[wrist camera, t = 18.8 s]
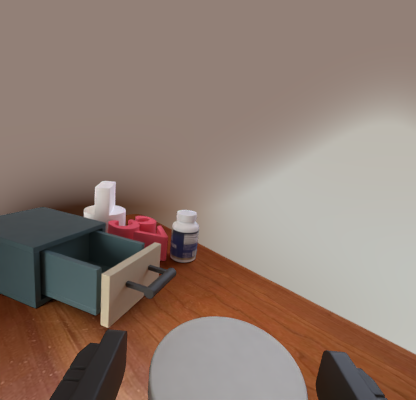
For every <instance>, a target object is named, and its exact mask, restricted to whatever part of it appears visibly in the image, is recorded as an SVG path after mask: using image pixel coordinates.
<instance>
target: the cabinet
mask: <svg viewBox="0 0 416 400" xmlns="http://www.w3.org/2000/svg"><path fill="white" fill-rule="evenodd" d="M96 230H98V231H102V232H106V223H105V222H101V221H97V220H93V219H89V218H85V217H81V216H77V215H73V214H69V213H65V212H61V211H57V210H53V209H49V208H45V207H40V208H36V209H31V210H26V211H21V212H16V213H11V214H6V215H1V216H0V293H1V294H3V295H5V296H8V297H10V298H12V299H15V300H17V301H19V302H22V303H24V304H26V305H29V306H31V307H33V308H38V307H39V306H41V305H43V304H44V303H46V302H48V301H50V300H51V299H53V298H50V297H48V296H45V295H43V294H41V285H40V257H39V251H42V250H45V249H47V248H50V247H53V246H55V245H58V244H61V243H64V242H66V241H69V240H72V239H74V238H77V237H80V236H82V235H85V234H88V233H91V232H93V231H96Z"/></svg>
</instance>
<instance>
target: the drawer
mask: <svg viewBox="0 0 416 400" xmlns="http://www.w3.org/2000/svg"><path fill="white" fill-rule="evenodd" d="M144 246H145V243H143V242H139V241H136V240H132V239H128V238H124V237H121V236H117V235H113V234H109V233H106V232H102V231H98V230H96V231H93V232H91V233H88V234H85V235H82V236H80V237H77V238H74V239H72V240H69V241H66V242H64V243H61V244H58V245H55V246H53V247H50V248H47V249H45V250H42V251H39V257H40V285H41V294H43V295H45V296H48V297H50V298H53V299H55V300H58V301H60V302H63V303H65V304H68V305H70V306H73V307H75V308H78V309H80V310H83V311H85V312H88V313H90V314H93V315H95V316H96V315H98V314H99V313H100V312H101V325H102V326H104V327H107V328H109V327H110V326H111V325H112V324H113V323H115V322H116V321H117V320H118V319H119V318H120V317H121V316H122V315H123V314H125V313H126V312H127V311H128V310H129V309H130V308H131V307H132V306H133V305H135V304H136V303H137V302H138V301H139V300H140V299H141V298H142V297H143V296H146V297H147V298H149V299H151V298H153V297H154V296H155V295H156V294H157V293H158V292H159V291H160V290H161V289H162V288H163V287H164V286H165V285H166V284H167V283H168V282H169V281H170V280H171V279H173V278H174V277H175V276H176V270H175V269H174V268H169V269H168V270H166V269H163V268H160V253H161V244H160V243H156V242H154V243H153V244H151V245H149V246H148V247H146V248H144ZM159 273H160V274H162V275H161V276H159Z"/></svg>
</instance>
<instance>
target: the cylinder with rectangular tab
mask: <svg viewBox="0 0 416 400" xmlns="http://www.w3.org/2000/svg"><path fill="white" fill-rule="evenodd" d="M115 188H116V182H112V181H102V182H101V183H100V184H98V185H97V186H96V187H95V205H94V206H89V207H87V208H85V209H84V217H85V218H89V219H93V220H97V221H101V222H105V223H106V233H108V222H109V221H111V220H117V221H119V226H125V216H126V209H125V208H123V207H120V206H115Z"/></svg>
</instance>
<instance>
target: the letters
mask: <svg viewBox="0 0 416 400" xmlns="http://www.w3.org/2000/svg"><path fill="white" fill-rule="evenodd" d="M108 233H109V234H113V235H117V236H121V237H124V238H128V239H132V240H136V241H139V242H143V243H145V246H144V248H146V247H148V246H149V245H151V244H153V243H154V242H156V243H160V244H161V253H160V260H161V261H166V255H167V243H168V236H167V235H166V233H165V231H164V230H163V228H162V227H161V226H157V233H156V220H154V219H152V218H150V217H146V216H136V220H135V221H134V220H128V226H119V221H117V220H111V221H109V222H108ZM155 233H156V234H155Z"/></svg>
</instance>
